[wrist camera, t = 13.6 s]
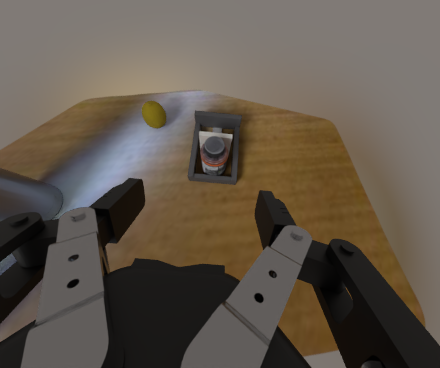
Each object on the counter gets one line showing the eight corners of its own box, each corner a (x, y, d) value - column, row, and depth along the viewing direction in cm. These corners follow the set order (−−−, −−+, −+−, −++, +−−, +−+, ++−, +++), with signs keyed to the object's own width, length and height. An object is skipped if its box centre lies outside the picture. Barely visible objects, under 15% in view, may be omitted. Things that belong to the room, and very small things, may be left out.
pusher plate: (201, 155, 44) (199, 135, 36) (205, 120, 48) (204, 94, 39) (228, 157, 44) (232, 138, 36) (230, 122, 48) (234, 97, 39)
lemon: (144, 127, 46) (131, 105, 39) (158, 113, 48) (148, 90, 40) (160, 137, 46) (149, 117, 38) (173, 123, 47) (166, 101, 40)
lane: (189, 180, 42) (185, 171, 37) (197, 126, 47) (195, 110, 42) (234, 184, 43) (238, 176, 37) (237, 130, 48) (241, 115, 42)
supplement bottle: (209, 153, 45) (209, 126, 34) (229, 163, 44) (235, 139, 34) (197, 171, 43) (193, 149, 32) (218, 182, 42) (221, 163, 32)
